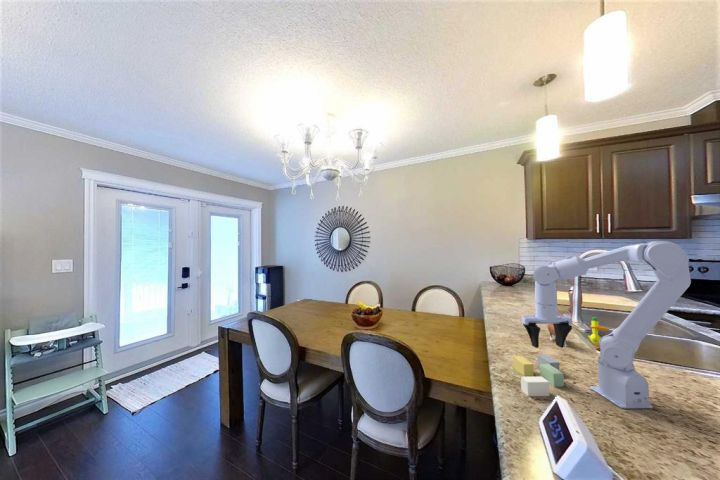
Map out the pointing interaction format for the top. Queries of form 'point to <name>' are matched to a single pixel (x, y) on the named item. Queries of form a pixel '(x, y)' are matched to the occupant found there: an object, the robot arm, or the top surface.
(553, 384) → the green brick
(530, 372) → the mustard brick
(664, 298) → the robot arm
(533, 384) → the cream brick
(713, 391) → the top surface
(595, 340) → the toy figure
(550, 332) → the bull figurine
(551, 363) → the grey brick
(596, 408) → the top surface
